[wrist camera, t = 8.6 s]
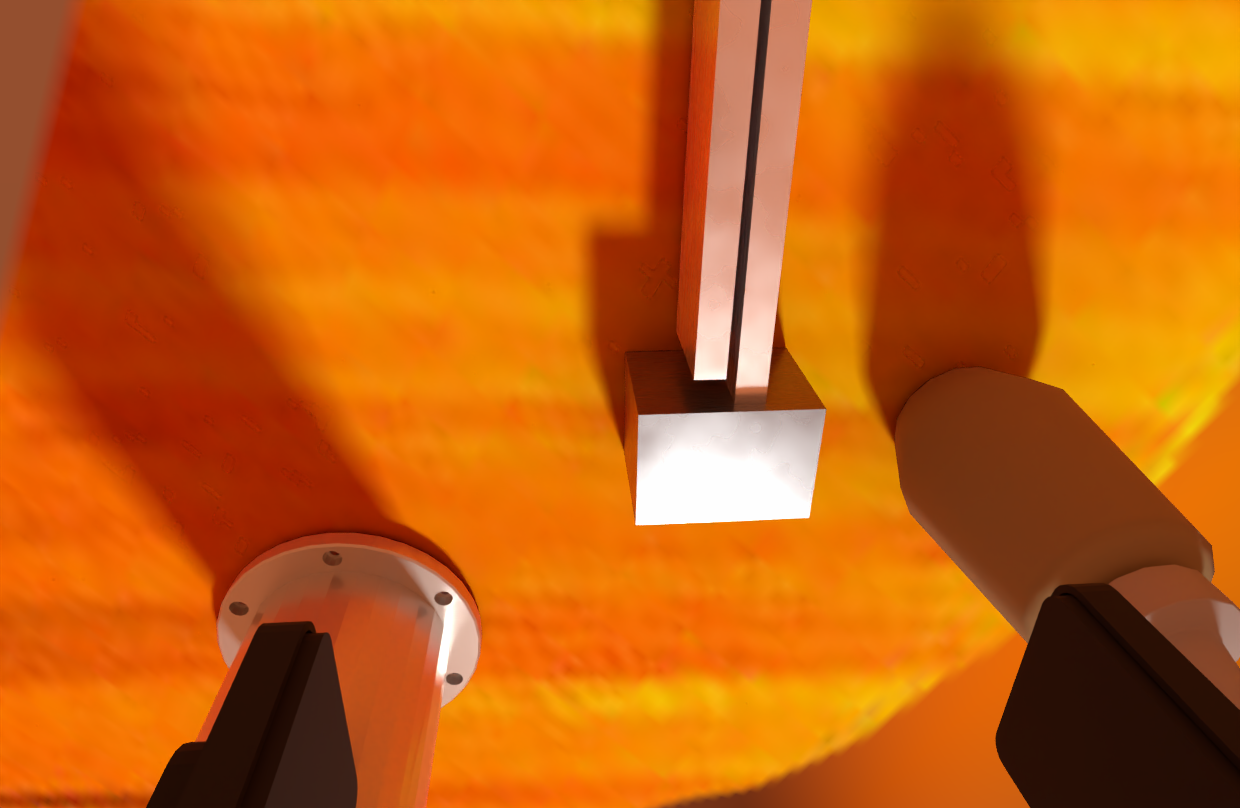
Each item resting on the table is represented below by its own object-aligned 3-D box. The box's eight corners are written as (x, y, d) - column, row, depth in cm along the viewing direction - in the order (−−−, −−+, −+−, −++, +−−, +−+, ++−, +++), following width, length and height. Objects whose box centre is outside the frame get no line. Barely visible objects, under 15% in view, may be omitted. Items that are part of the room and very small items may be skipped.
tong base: (773, 445, 36) (808, 517, 31) (623, 451, 35) (635, 525, 30) (856, -225, 24) (935, -278, 19) (633, -232, 23) (655, -288, 18)
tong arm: (704, 330, 32) (726, 379, 28) (671, 331, 32) (688, 380, 28) (747, -251, 23) (788, -301, 19) (701, -253, 23) (733, -304, 19)
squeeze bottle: (834, 451, 36) (1056, 814, 20) (949, 311, 33) (1315, 608, 17) (958, 514, 38) (1241, 881, 23) (1075, 389, 35) (1496, 712, 20)
